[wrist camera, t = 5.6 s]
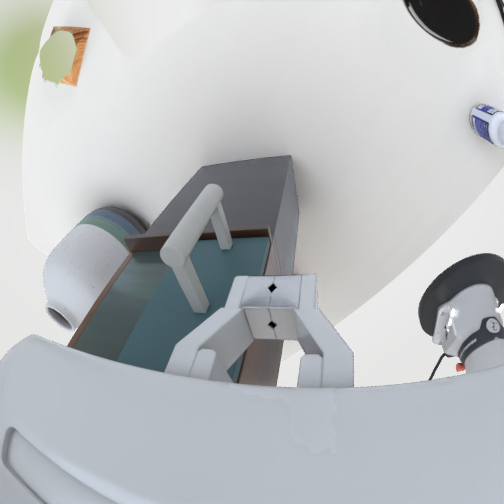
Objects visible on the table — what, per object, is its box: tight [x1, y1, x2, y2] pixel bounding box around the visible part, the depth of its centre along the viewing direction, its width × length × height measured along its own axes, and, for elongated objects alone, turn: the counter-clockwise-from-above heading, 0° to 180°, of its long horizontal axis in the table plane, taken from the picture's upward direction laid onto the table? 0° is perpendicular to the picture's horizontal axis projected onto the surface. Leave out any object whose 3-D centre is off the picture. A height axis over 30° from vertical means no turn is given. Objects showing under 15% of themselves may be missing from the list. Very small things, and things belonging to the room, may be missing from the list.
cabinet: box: [67, 155, 299, 387], centre depth 29 cm, size 12×14×35 cm
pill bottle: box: [470, 104, 504, 149], centre depth 23 cm, size 5×5×9 cm
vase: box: [43, 207, 146, 332], centre depth 45 cm, size 17×17×24 cm
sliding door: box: [117, 184, 270, 383], centre depth 16 cm, size 6×7×12 cm
